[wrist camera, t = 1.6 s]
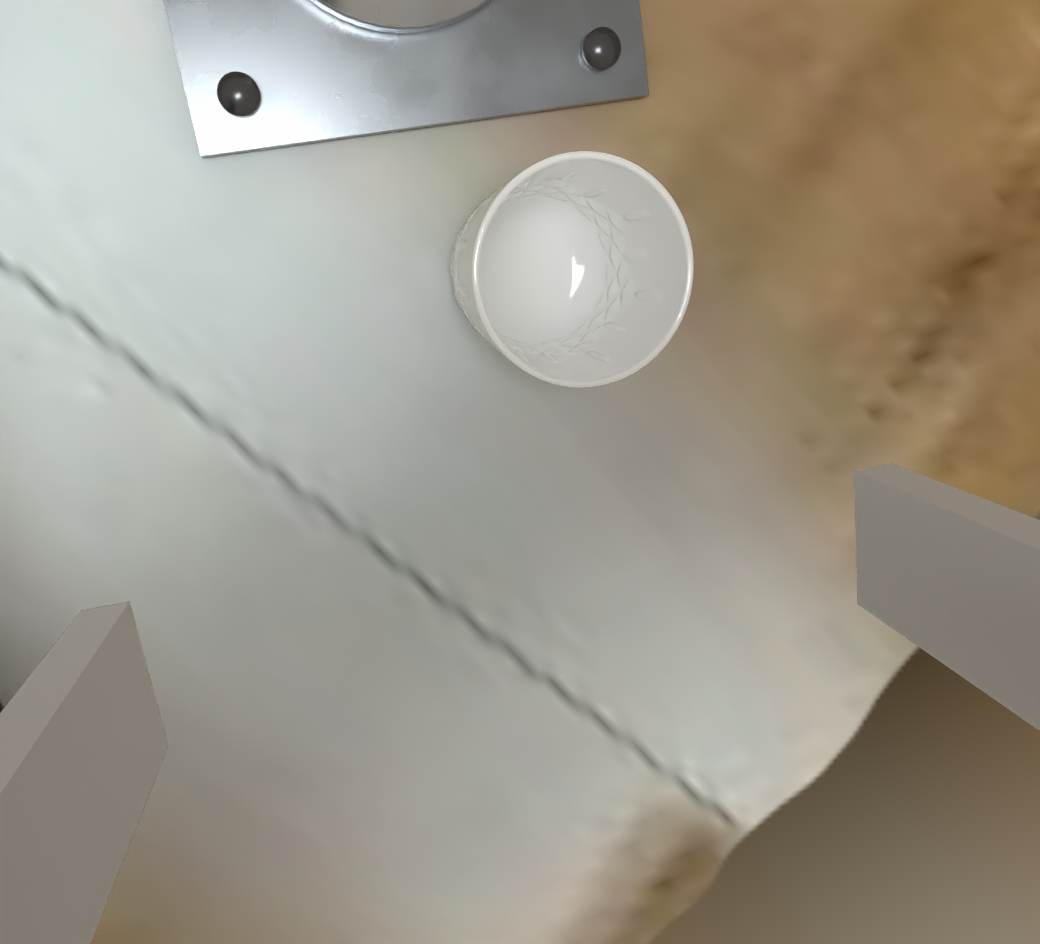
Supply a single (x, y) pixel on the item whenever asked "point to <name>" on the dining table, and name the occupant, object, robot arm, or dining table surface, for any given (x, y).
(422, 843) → the dining table surface
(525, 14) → the panel
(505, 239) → the white cup
